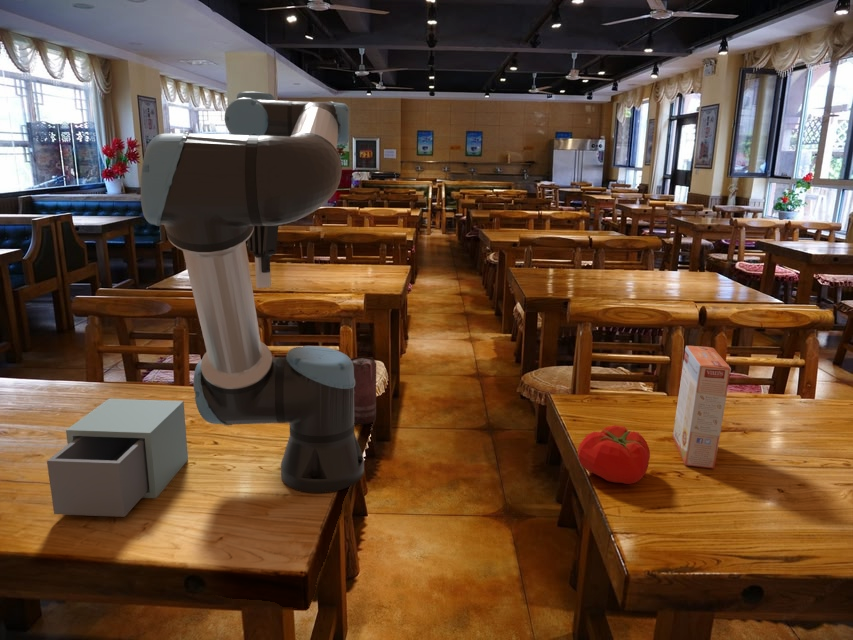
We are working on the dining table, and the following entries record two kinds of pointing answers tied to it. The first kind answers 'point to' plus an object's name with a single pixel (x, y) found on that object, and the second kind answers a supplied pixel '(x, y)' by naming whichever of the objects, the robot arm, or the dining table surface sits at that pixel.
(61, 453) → the tray
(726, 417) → the dining table surface
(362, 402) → the can
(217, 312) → the robot arm
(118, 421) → the sleeve
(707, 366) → the cracker box
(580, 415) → the dining table surface
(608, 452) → the tomato
